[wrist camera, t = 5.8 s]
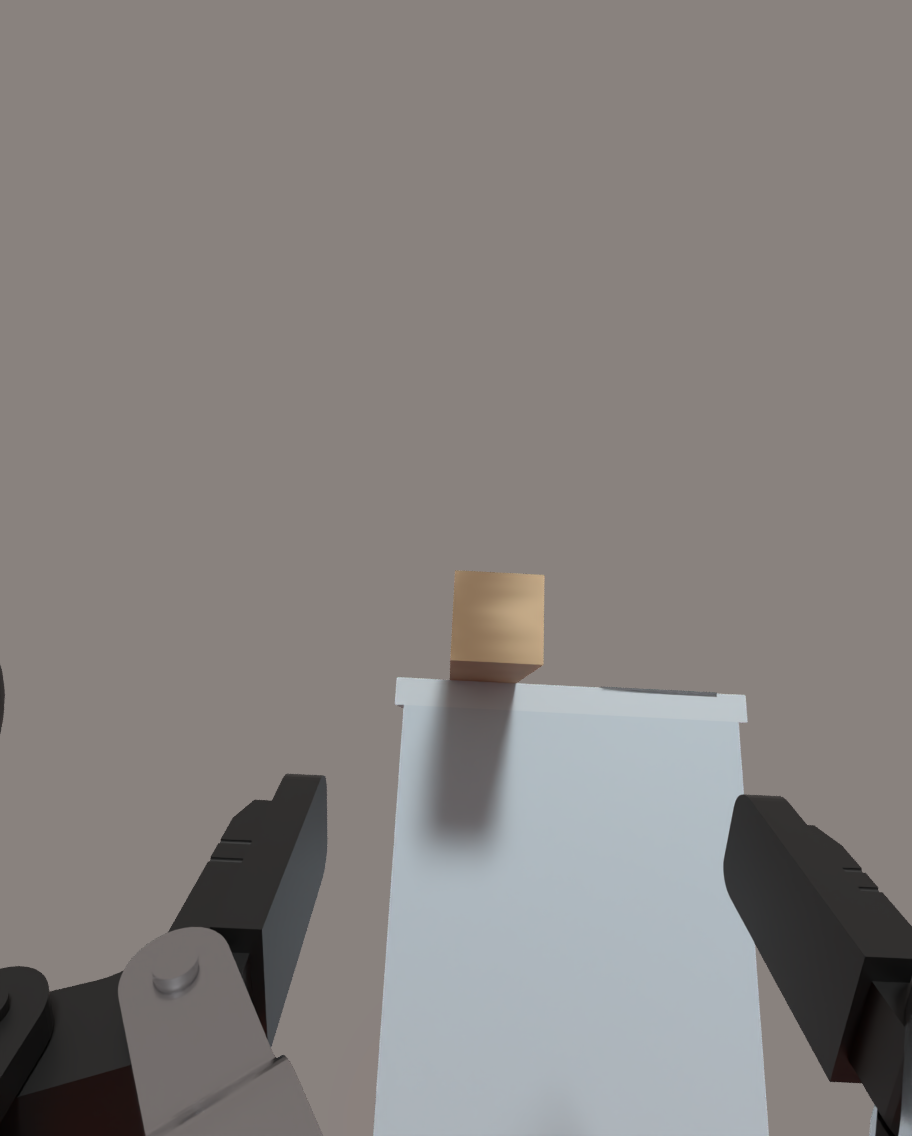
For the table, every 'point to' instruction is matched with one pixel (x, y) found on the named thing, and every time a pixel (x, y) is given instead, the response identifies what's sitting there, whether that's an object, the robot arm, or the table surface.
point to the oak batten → (497, 626)
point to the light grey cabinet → (567, 917)
